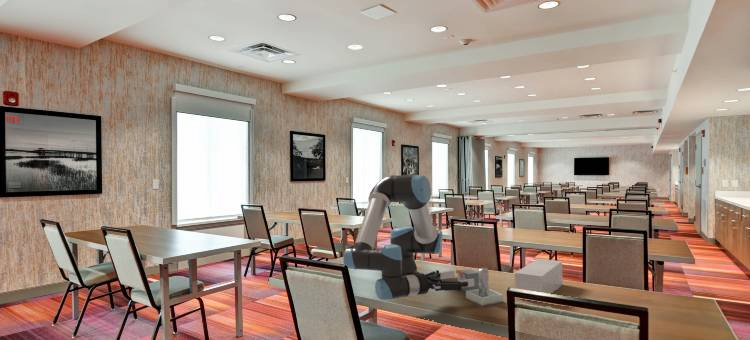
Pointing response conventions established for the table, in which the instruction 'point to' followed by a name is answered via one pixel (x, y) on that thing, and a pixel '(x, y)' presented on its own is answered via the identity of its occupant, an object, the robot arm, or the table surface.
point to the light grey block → (540, 276)
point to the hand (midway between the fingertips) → (463, 277)
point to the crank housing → (468, 275)
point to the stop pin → (483, 282)
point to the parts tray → (491, 299)
